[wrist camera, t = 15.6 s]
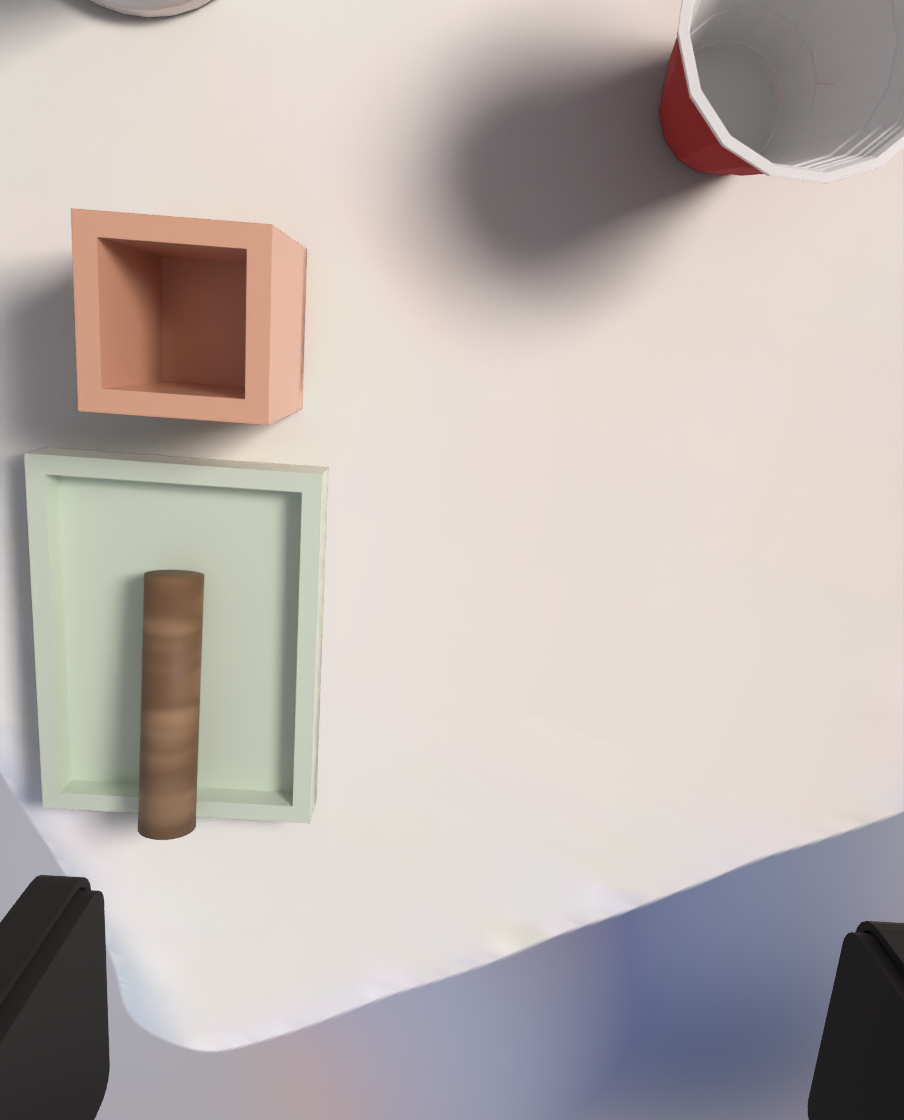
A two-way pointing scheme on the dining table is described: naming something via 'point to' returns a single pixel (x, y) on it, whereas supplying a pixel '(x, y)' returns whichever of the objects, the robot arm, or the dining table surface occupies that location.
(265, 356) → the pink square bin
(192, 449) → the dining table surface
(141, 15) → the robot arm
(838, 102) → the plastic cup
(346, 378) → the dining table surface
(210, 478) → the tray
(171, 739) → the dowel
